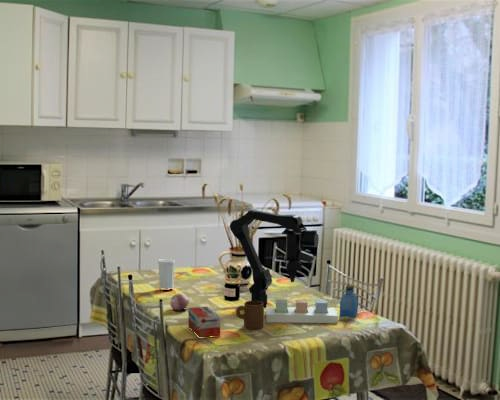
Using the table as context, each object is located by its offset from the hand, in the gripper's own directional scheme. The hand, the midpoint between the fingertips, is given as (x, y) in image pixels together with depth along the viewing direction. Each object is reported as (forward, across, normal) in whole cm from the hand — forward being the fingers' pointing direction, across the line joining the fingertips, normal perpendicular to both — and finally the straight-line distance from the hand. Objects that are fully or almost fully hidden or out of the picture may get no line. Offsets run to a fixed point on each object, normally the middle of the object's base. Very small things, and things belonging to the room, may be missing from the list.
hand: (292, 281), depth 278 cm
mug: (+12, -27, +18) cm, 35 cm away
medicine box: (+12, -33, +35) cm, 50 cm away
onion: (+12, -3, +47) cm, 49 cm away
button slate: (+9, -13, -11) cm, 19 cm away
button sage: (+9, -13, +5) cm, 17 cm away
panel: (+12, -13, -3) cm, 18 cm away
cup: (+12, +32, +57) cm, 66 cm away
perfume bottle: (+12, -7, -23) cm, 27 cm away
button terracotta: (+9, -13, -3) cm, 16 cm away
